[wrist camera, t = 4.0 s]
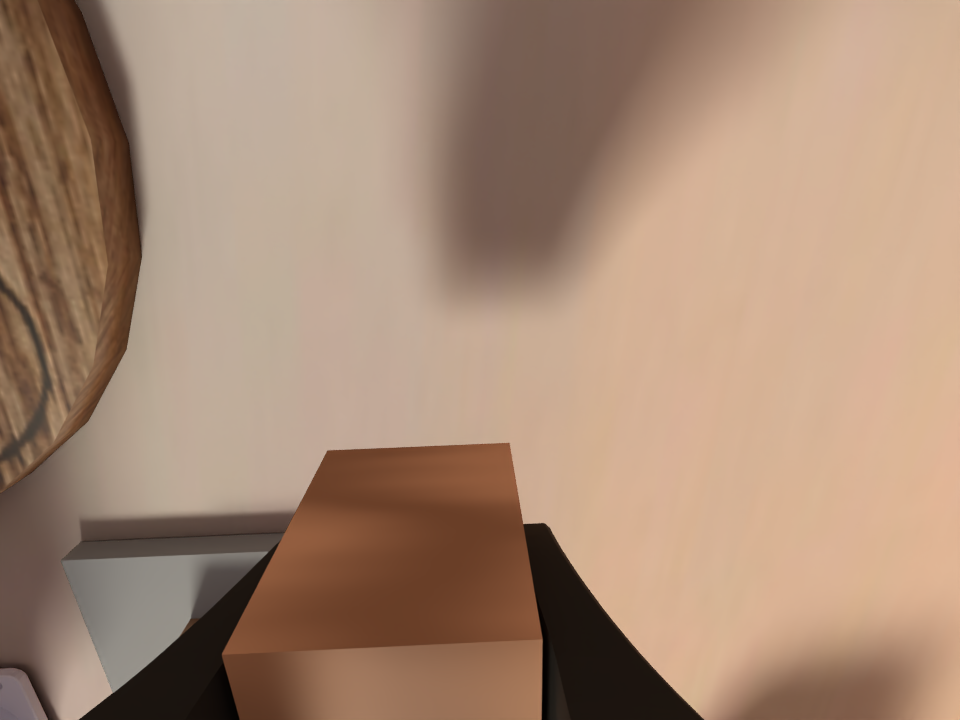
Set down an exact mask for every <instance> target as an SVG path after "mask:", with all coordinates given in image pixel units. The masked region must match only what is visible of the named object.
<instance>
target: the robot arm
mask: <svg viewBox="0 0 960 720" xmlns="http://www.w3.org/2000/svg"><path fill="white" fill-rule="evenodd" d="M523 526H524V532H525V538H526V544H527V550H528V556H529V562H530V568H531V574H532V580H533V586H534V592H535V597H536V603H537V609H538V615H539V621H540V627H541V633H542V639H543V645H542V719H541V720H704V719H703V718H702V717H701V716H700V715H699V714H698V713H697V712H696V711H695V710H694V709H693V708H692V707H691V706H690V705H689V704H688V703H687V702H686V701H685V700H684V699H683V698H682V697H681V696H680V695H679V694H678V693H677V692H676V691H675V690H674V689H673V688H672V687H671V686H670V685H669V684H668V683H667V682H666V681H665V680H664V679H663V678H662V677H661V676H660V675H659V674H658V673H657V671H656V670H655V669H654V668H653V667H652V666H651V665H650V664H649V663H648V662H647V661H646V659H645V658H644V657H643V656H642V655H641V654H640V653H639V652H638V650H637V649H636V648H635V647H634V646H633V645H632V644H631V642H630V641H629V640H628V639H627V637H626V636H625V635H624V634H623V633H622V631H621V630H620V629H619V628H618V627H617V625H616V624H615V623H614V622H613V621H612V619H611V618H610V617H609V615H608V614H607V613H606V612H605V610H604V609H603V608H602V606H601V605H600V604H599V602H598V601H597V600H596V598H595V597H594V596H593V594H592V593H591V592H590V590H589V589H588V587H587V586H586V585H585V583H584V582H583V581H582V579H581V578H580V576H579V575H578V573H577V572H576V570H575V569H574V567H573V566H572V564H571V563H570V561H569V560H568V558H567V557H566V555H565V554H564V552H563V550H562V549H561V547H560V545H559V544H558V542H557V540H556V539H555V537H554V535H553V533H552V531H551V529H550V528H549V527H548V526H547V525H546V524H545V523H538V524H523ZM280 541H281V540H280ZM280 541H279V542H278V543H277V544H276V545H275V546H274V547H273V548H272V549H271V550H270V551H269V552H268V553H267V554H266V555H265V556H264V557H263V558H262V559H261V560H260V561H259V562H258V563H257V564H256V565H255V566H254V567H253V568H252V569H251V570H250V571H249V572H248V573H247V574H246V575H245V576H244V577H243V578H242V579H241V580H240V581H239V582H238V583H237V584H236V585H235V586H234V587H233V588H232V589H231V590H229V591H228V592H227V593H226V594H225V595H224V596H223V597H222V598H221V599H220V600H219V601H218V602H217V603H216V604H215V605H214V606H213V607H212V608H211V609H210V610H209V611H208V612H207V613H205V614H204V615H203V616H202V617H201V618H200V619H199V620H198V621H197V622H196V623H194V624H193V625H192V626H191V627H190V628H189V629H188V630H187V631H185V632H184V633H183V634H182V635H181V636H180V637H179V638H178V639H176V640H175V641H174V642H173V643H172V644H171V645H170V646H169V647H167V648H166V649H165V650H164V651H163V652H162V653H161V654H160V655H158V656H157V657H156V658H155V659H154V660H153V661H152V662H150V663H149V664H148V665H147V666H146V667H145V668H143V669H142V670H141V671H140V672H139V673H137V674H136V675H135V676H134V677H132V678H131V679H130V680H129V681H128V682H126V683H125V684H124V685H123V686H121V687H120V688H119V689H118V690H116V691H115V692H114V693H113V694H111V695H110V696H109V697H107V698H106V699H105V700H104V701H102V702H101V703H100V704H98V705H97V706H96V707H95V708H93V709H92V710H91V711H89V712H88V713H87V714H86V715H84V716H83V717H82V718H80V719H79V720H240V719H239V715H238V711H237V708H236V704H235V701H234V697H233V694H232V690H231V686H230V683H229V679H228V676H227V672H226V669H225V665H224V662H223V658H222V653H223V651H224V649H225V647H226V645H227V643H228V642H229V640H230V638H231V636H232V634H233V632H234V630H235V628H236V626H237V624H238V622H239V620H240V618H241V616H242V615H243V613H244V611H245V609H246V607H247V605H248V603H249V601H250V599H251V597H252V595H253V593H254V591H255V589H256V588H257V586H258V584H259V582H260V580H261V578H262V576H263V574H264V572H265V570H266V568H267V566H268V564H269V562H270V561H271V559H272V557H273V555H274V553H275V551H276V549H277V547H278V545H279V543H280ZM0 720H48V719H47V717H46V714H45V712H44V710H43V708H42V706H41V704H40V702H39V700H38V697H37V695H36V693H35V691H34V689H33V687H32V685H31V683H30V680H29V678H28V676H27V675H26V673H25V672H24V671H22V670H20V669H17V668H4V669H0Z"/></svg>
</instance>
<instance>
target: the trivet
mask: <svg viewBox="0 0 960 720" xmlns="http://www.w3.org/2000/svg"><path fill="white" fill-rule="evenodd" d="M141 259H142V254H141V245H140V236H139V228H138V219H137V210H136V202H135V193H134V184H133V175H132V167H131V158H130V149H129V143H128V140H127V137H126V134H125V132H124V129H123V126H122V123H121V120H120V118H119V115H118V112H117V109H116V107H115V104H114V101H113V98H112V96H111V93H110V90H109V87H108V84H107V82H106V79H105V76H104V73H103V71H102V68H101V65H100V62H99V60H98V57H97V54H96V51H95V48H94V46H93V43H92V40H91V37H90V35H89V32H88V29H87V26H86V23H85V21H84V18H83V15H82V12H81V11H80V9H79V7H78V6H77V4H76V2H75V1H74V0H0V493H2V492H3V491H5V490H6V489H8V488H9V487H11V486H12V485H14V484H15V483H17V482H18V481H20V480H21V479H23V478H24V477H26V476H27V475H29V474H30V473H32V472H33V471H34V470H35V469H36V468H37V467H38V466H39V465H41V464H42V463H43V462H44V461H45V460H46V459H47V458H48V457H49V456H50V455H52V454H53V453H54V452H55V451H56V450H57V449H58V448H59V447H60V446H61V445H63V444H64V443H65V442H66V441H67V440H68V439H69V438H70V437H71V436H73V435H74V434H75V433H76V432H77V431H78V430H79V429H80V428H81V427H82V426H84V425H85V424H86V423H87V422H88V421H89V419H90V417H91V415H92V413H93V411H94V409H95V408H96V406H97V404H98V402H99V400H100V398H101V396H102V394H103V393H104V391H105V389H106V387H107V385H108V383H109V381H110V379H111V378H112V376H113V374H114V372H115V370H116V368H117V366H118V364H119V363H120V361H121V359H122V357H123V355H124V353H125V351H126V349H127V343H128V337H129V331H130V325H131V319H132V313H133V307H134V301H135V295H136V289H137V283H138V277H139V271H140V265H141Z"/></svg>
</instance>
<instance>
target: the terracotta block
mask: <svg viewBox="0 0 960 720" xmlns="http://www.w3.org/2000/svg"><path fill="white" fill-rule="evenodd" d="M542 645H543V639H542V633H541V627H540V621H539V615H538V609H537V603H536V597H535V592H534V586H533V580H532V574H531V568H530V562H529V556H528V550H527V544H526V538H525V532H524V526H523V520H522V514H521V509H520V503H519V497H518V491H517V485H516V479H515V473H514V467H513V461H512V455H511V449H510V443H496V444H472V445H448V446H425V447H401V448H377V449H353V450H330V451H327V453H326V455H325V456H324V458H323V460H322V462H321V464H320V466H319V468H318V470H317V472H316V474H315V476H314V478H313V480H312V482H311V483H310V485H309V487H308V489H307V491H306V493H305V495H304V497H303V499H302V501H301V503H300V505H299V507H298V509H297V510H296V512H295V514H294V516H293V518H292V520H291V522H290V524H289V526H288V528H287V530H286V532H285V534H284V536H283V537H282V539H281V541H280V543H279V545H278V547H277V549H276V551H275V553H274V555H273V557H272V559H271V561H270V562H269V564H268V566H267V568H266V570H265V572H264V574H263V576H262V578H261V580H260V582H259V584H258V586H257V588H256V589H255V591H254V593H253V595H252V597H251V599H250V601H249V603H248V605H247V607H246V609H245V611H244V613H243V615H242V616H241V618H240V620H239V622H238V624H237V626H236V628H235V630H234V632H233V634H232V636H231V638H230V640H229V642H228V643H227V645H226V647H225V649H224V651H223V653H222V658H223V662H224V665H225V669H226V672H227V676H228V679H229V683H230V686H231V690H232V694H233V697H234V701H235V704H236V708H237V711H238V715H239V719H240V720H541V719H542Z"/></svg>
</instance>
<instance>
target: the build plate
mask: <svg viewBox="0 0 960 720" xmlns="http://www.w3.org/2000/svg"><path fill="white" fill-rule="evenodd" d="M284 534H285V533H271V534H249V535H226V536H203V537H180V538H157V539H134V540H111V541H88V542H80V543H79V544H78V545H77V546H76V547H75V548H74V549H73V550H72V551H70V552H69V553H68V554H67V555H66V556H65V557H64V558H63V559H62V560H61V563H62V565H63V568H64V571H65V573H66V576H67V578H68V581H69V583H70V586H71V588H72V591H73V593H74V596H75V598H76V601H77V603H78V606H79V608H80V611H81V613H82V616H83V619H84V621H85V624H86V626H87V629H88V631H89V634H90V636H91V639H92V641H93V644H94V646H95V649H96V651H97V654H98V656H99V659H100V661H101V664H102V667H103V669H104V672H105V674H106V677H107V679H108V682H109V684H110V687H111V689H112V692H113V693H114V692H115V691H116V690H118V689H119V688H120V687H121V686H123V685H124V684H125V683H126V682H128V681H129V680H130V679H131V678H132V677H134V676H135V675H136V674H137V673H139V672H140V671H141V670H142V669H143V668H145V667H146V666H147V665H148V664H149V663H150V662H152V661H153V660H154V659H155V658H156V657H157V656H158V655H160V654H161V653H162V652H163V651H164V650H165V649H166V648H167V647H169V646H170V645H171V644H172V643H173V642H174V641H175V640H176V639H178V638H179V636H180V635H181V633H182V632H183V630H184V629H185V627H186V625H187V624H188V622H189V621H190V619H196V618H201V617H202V616H203V615H204V614H205V613H207V612H208V611H209V610H210V609H211V608H212V607H213V606H214V605H215V604H216V603H217V602H218V601H219V600H220V599H221V598H222V597H223V596H224V595H225V594H226V593H227V592H228V591H229V590H231V589H232V588H233V587H234V586H235V585H236V584H237V583H238V582H239V581H240V580H241V579H242V578H243V577H244V576H245V575H246V574H247V573H248V572H249V571H250V570H251V569H252V568H253V567H254V566H255V565H256V564H257V563H258V562H259V561H260V560H261V559H262V558H263V557H264V556H265V555H266V554H267V553H268V552H269V551H270V550H271V549H272V548H273V547H274V546H275V545H276V544H277V543H278V542H279V541H280V540H281V539H282V537H283V536H284Z"/></svg>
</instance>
